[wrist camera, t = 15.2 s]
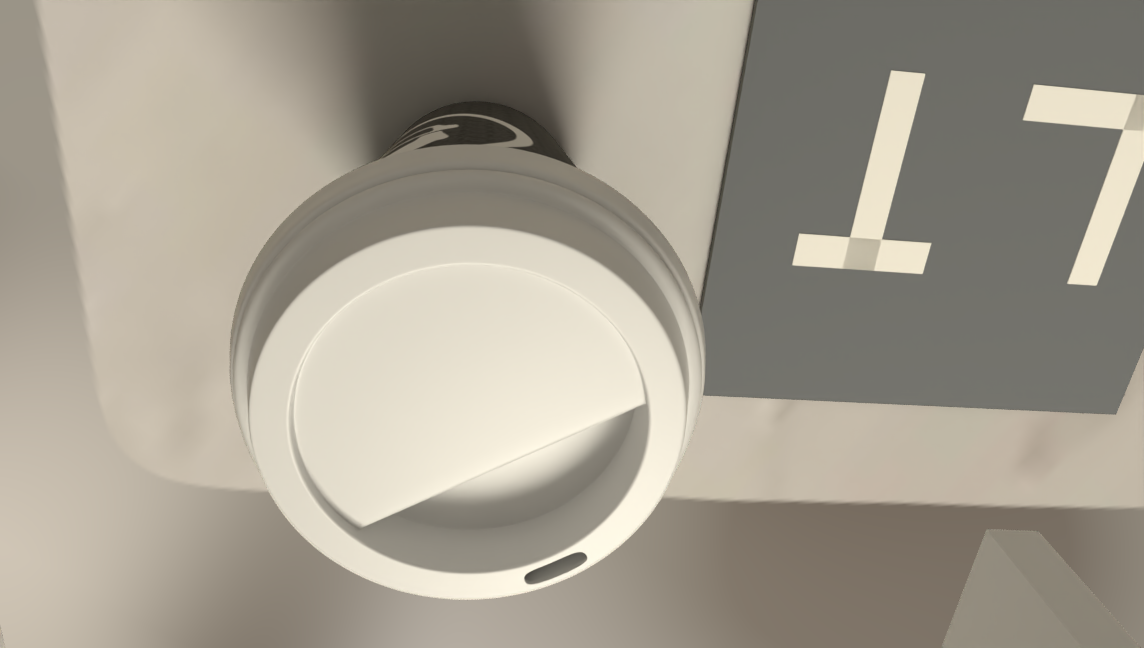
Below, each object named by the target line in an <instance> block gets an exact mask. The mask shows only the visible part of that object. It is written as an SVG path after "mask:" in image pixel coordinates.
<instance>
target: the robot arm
mask: <svg viewBox="0 0 1144 648" xmlns="http://www.w3.org/2000/svg"><path fill="white" fill-rule="evenodd" d="M0 648H5V644H4V640H3V635H2V631H1V627H0ZM942 648H1141V647H1140V646H1139V645H1138V644H1137V642H1136V641H1135V640H1134V639H1133V638H1132V637H1131V636H1130V635H1129V633H1128V632H1127V631H1126V630H1125V629H1124V628H1123V627H1122V626H1121V624H1120V623H1119V622H1118V621H1117V620H1116V619H1115V618H1114V616H1113V615H1112V614H1111V613H1110V612H1109V611H1108V610H1107V609H1106V607H1104V605H1103V604H1102V603H1101V602H1100V601H1099V600H1098V599H1097V597H1096V596H1095V595H1094V594H1093V593H1092V592H1091V591H1090V589H1089V588H1088V587H1087V586H1086V585H1085V584H1084V583H1083V581H1082V580H1081V579H1080V578H1079V577H1078V576H1077V575H1076V574H1075V572H1074V571H1073V570H1072V569H1071V568H1070V567H1069V566H1068V565H1067V563H1066V562H1065V561H1064V560H1063V559H1062V558H1061V557H1060V555H1059V554H1058V553H1057V552H1056V551H1055V550H1054V549H1053V548H1052V547H1051V545H1050V544H1049V543H1048V542H1047V541H1046V540H1045V539H1044V537H1043V536H1042V535H1041V534H1040V533H1039V532H1038V531H1018V530H989V529H987V530H986V533H985V535H984V538H983V541H982V543H981V546H980V549H979V551H978V554H977V557H976V559H975V562H974V564H973V567H972V569H971V573H970V575H969V577H968V580H967V582H966V585H965V588H964V591H963V593H962V595H961V598H960V601H959V603H958V606H957V609H956V611H955V614H954V616H953V619H952V622H951V624H950V627H949V630H948V632H947V635H946V637H945V640H944V642H943V645H942Z"/></svg>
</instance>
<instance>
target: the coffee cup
mask: <svg viewBox="0 0 1144 648" xmlns="http://www.w3.org/2000/svg"><path fill="white" fill-rule="evenodd" d="M705 363H706V349H705V334H704V327H703V321H702V316H701V312H700V307H699V304H698V300H697V297H696V294H695V291H694V289H693V286H692V284H691V281H690V279H689V277H688V274H687V272H686V270H685V268H684V266H683V264H682V263H681V261H680V259H679V257H678V256H677V254H676V252H675V251H674V249H673V248H672V246H671V245H670V244H669V242H668V241H667V239H666V238H665V237H664V235H663V234H662V233H661V232H660V230H659V229H658V228H657V227H656V226H655V225H654V223H653V222H652V221H651V220H650V219H649V218H648V217H647V216H646V215H645V214H644V213H643V212H642V211H641V210H640V209H639V208H637V207H636V206H635V205H634V204H633V203H632V202H631V201H629V200H628V199H627V198H626V197H624V196H623V195H622V194H620V193H619V192H618V191H616V190H615V189H613V188H612V187H610V186H609V185H607V184H606V183H604V182H602V181H601V180H599V179H597V178H596V177H594V176H592V175H590V174H588V173H586V172H584V171H582V170H580V169H578V168H577V167H576V166H575V165H574V164H573V162H572V161H571V160H570V159H569V157H568V156H567V155H566V154H565V152H564V151H563V150H562V149H561V147H560V146H559V145H558V144H557V143H556V141H555V140H554V139H553V138H552V137H551V135H550V134H549V133H548V132H547V131H546V130H545V129H544V128H543V127H542V126H540V125H539V124H538V123H537V122H535V121H534V120H533V119H531V118H530V117H528V116H526V115H525V114H523V113H521V112H519V111H517V110H514V109H512V108H509V107H506V106H503V105H499V104H494V103H488V102H463V103H457V104H453V105H449V106H445V107H442V108H440V109H437V110H435V111H433V112H431V113H429V114H427V115H426V116H424V117H422V118H421V119H419V120H418V121H417V122H415V123H414V124H413V125H412V126H411V127H410V128H409V129H408V130H407V131H406V132H405V133H404V134H403V135H402V136H401V137H400V138H399V139H398V140H397V141H396V142H395V143H394V144H393V145H392V146H391V147H390V149H389V150H388V151H387V152H386V153H385V154H384V155H383V156H382V157H381V158H380V159H379V160H376V161H374V162H371V163H369V164H366V165H364V166H362V167H359V168H357V169H355V170H353V171H351V172H349V173H347V174H345V175H343V176H341V177H340V178H338V179H336V180H334V181H333V182H331V183H330V184H328V185H326V186H325V187H323V188H322V189H320V190H319V191H318V192H316V193H315V194H314V195H312V196H311V197H310V198H308V199H307V200H306V201H305V202H303V203H302V204H301V205H300V206H299V207H298V208H297V209H296V210H294V211H293V212H292V213H291V214H290V215H289V216H288V217H287V218H286V219H285V220H284V222H283V223H282V224H281V225H280V226H279V227H278V228H277V229H276V231H275V232H274V233H273V234H272V236H271V237H270V238H269V240H268V241H267V242H266V244H265V245H264V247H263V248H262V250H261V251H260V253H259V254H258V256H257V258H256V260H255V261H254V263H253V265H252V267H251V269H250V271H249V273H248V275H247V277H246V280H245V282H244V284H243V287H242V290H241V292H240V295H239V298H238V302H237V305H236V309H235V313H234V318H233V323H232V330H231V339H230V383H231V392H232V399H233V404H234V409H235V413H236V417H237V420H238V423H239V427H240V429H241V432H242V435H243V438H244V441H245V444H246V446H247V448H248V451H249V453H250V455H251V457H252V459H253V461H254V463H255V465H256V467H257V469H258V471H259V472H260V474H261V476H262V479H263V481H264V483H265V485H266V487H267V489H268V491H269V493H270V495H271V497H272V498H273V500H274V502H275V503H276V505H277V506H278V508H279V509H280V510H281V512H282V513H283V515H284V516H285V517H286V518H287V520H288V521H289V522H290V523H291V524H292V525H293V527H294V528H295V529H296V530H297V531H298V532H299V533H300V534H301V535H302V536H303V537H304V538H305V539H306V540H307V541H308V542H309V543H310V544H312V545H313V546H314V547H315V548H316V549H318V550H319V551H320V552H321V553H323V554H324V555H326V556H327V557H328V558H330V559H331V560H333V561H335V562H336V563H338V564H339V565H341V566H342V567H344V568H346V569H348V570H349V571H351V572H353V573H355V574H357V575H359V576H361V577H363V578H365V579H368V580H370V581H372V582H375V583H378V584H380V585H383V586H386V587H389V588H392V589H395V590H399V591H403V592H407V593H411V594H416V595H421V596H427V597H434V598H443V599H460V600H465V599H466V600H470V599H471V600H473V599H488V598H489V599H490V598H499V597H506V596H511V595H517V594H522V593H526V592H530V591H533V590H537V589H540V588H543V587H547V586H549V585H552V584H555V583H557V582H560V581H563V580H565V579H567V578H569V577H572V576H574V575H576V574H578V573H580V572H581V571H583V570H585V569H587V568H589V567H591V566H592V565H594V564H595V563H597V562H599V561H600V560H602V559H603V558H605V557H606V556H607V555H609V554H610V553H611V552H613V551H614V550H615V549H617V548H618V547H619V546H620V545H621V544H623V543H624V542H625V541H626V540H627V539H628V538H629V537H630V536H631V535H632V534H633V533H634V532H635V531H636V530H637V529H638V528H639V527H640V526H641V525H642V524H643V523H644V521H645V520H646V519H647V517H649V515H650V514H651V512H652V511H653V510H654V508H655V507H656V506H657V504H658V503H659V501H660V499H661V498H662V496H663V494H664V493H665V491H666V489H667V487H668V485H669V483H670V481H671V479H672V477H673V475H674V473H675V471H676V470H677V468H678V466H679V464H680V462H681V460H682V458H683V456H684V454H685V452H686V450H687V447H688V445H689V442H690V440H691V437H692V434H693V431H694V429H695V426H696V423H697V419H698V416H699V412H700V408H701V403H702V398H703V391H704V383H705Z"/></svg>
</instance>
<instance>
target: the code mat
mask: <svg viewBox="0 0 1144 648" xmlns="http://www.w3.org/2000/svg"><path fill="white" fill-rule="evenodd" d="M700 312H701V316H702V321H703V327H704V334H705V349H706V363H705V383H704V391H703V395H706V396H728V397H749V398H771V399H792V400H814V401H835V402H857V403H878V404H900V405H921V406H943V407H964V408H986V409H1007V410H1029V411H1050V412H1072V413H1094V414H1115V415H1116V413H1117V411H1118V408H1119V406H1120V403H1121V401H1122V399H1123V396H1124V394H1125V391H1126V389H1127V387H1128V384H1129V382H1130V379H1131V377H1132V375H1133V372H1134V370H1135V367H1136V365H1137V363H1138V360H1139V358H1140V355H1141V353H1142V351H1143V348H1144V0H755V3H754V9H753V15H752V20H751V26H750V31H749V37H748V43H747V48H746V54H745V59H744V65H743V71H742V76H741V82H740V87H739V93H738V99H737V104H736V110H735V115H734V121H733V127H732V132H731V138H730V143H729V149H728V154H727V160H726V166H725V171H724V177H723V182H722V188H721V194H720V199H719V205H718V210H717V216H716V222H715V227H714V233H713V238H712V244H711V250H710V255H709V261H708V266H707V272H706V278H705V283H704V289H703V294H702V300H701V306H700Z"/></svg>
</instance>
